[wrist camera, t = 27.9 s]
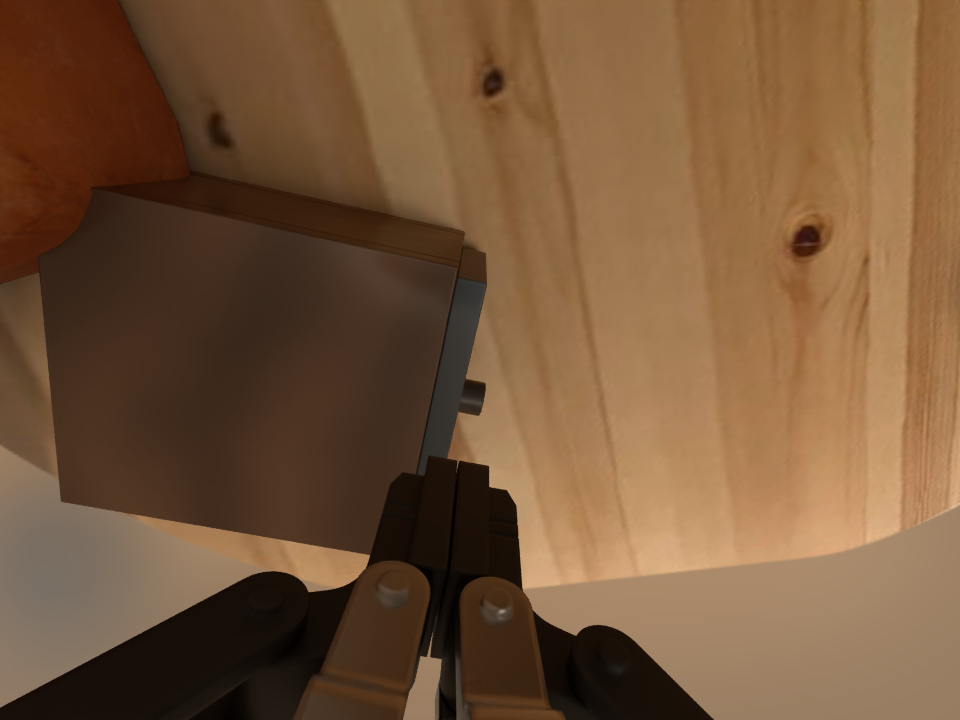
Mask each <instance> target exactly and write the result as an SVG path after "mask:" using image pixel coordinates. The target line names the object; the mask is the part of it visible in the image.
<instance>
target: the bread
mask: <svg viewBox="0 0 960 720" xmlns="http://www.w3.org/2000/svg"><path fill="white" fill-rule="evenodd" d="M188 176H190V173H189V168H188V164H187V160H186V155H185V151H184V147H183V142H182V138H181V134H180V130H179V125H178V123H177V121H176V119H175V117H174V115H173V113H172V111H171V109H170V107H169V105H168V103H167V101H166V99H165V97H164V95H163V93H162V91H161V90H160V88H159V86H158V84H157V82H156V80H155V78H154V76H153V74H152V72H151V70H150V68H149V66H148V64H147V62H146V60H145V58H144V56H143V54H142V52H141V49H140V47H139V45H138V43H137V41H136V39H135V37H134V35H133V33H132V31H131V28H130V26H129V24H128V22H127V20H126V18H125V16H124V14H123V12H122V9H121V7H120V5H119V3H118V1H117V0H0V284H2V283H5V282H8V281H12V280H15V279H18V278H21V277H25V276H28V275H31V274H34V273H37V272H39V263H38V256H39V255H41V254H43V253H45V252H46V251H48V250H50V249H52V248H54V247H56V246H58V245H59V244H61V243H63V242H64V241H65V240H66V239H67V238H68V237H69V236H70V235H71V234H72V233H73V232H75V231H76V230H77V229H78V226H79V224H80V222H81V220H82V218H83V216H84V214H85V212H86V210H87V208H88V206H89V204H90V200H91V195H92V191H91V187H100V186H114V185H125V184H135V183H145V182H156V181H166V180H176V179H183V178H185V177H188Z"/></svg>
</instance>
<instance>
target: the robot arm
mask: <svg viewBox="0 0 960 720" xmlns="http://www.w3.org/2000/svg"><path fill="white" fill-rule="evenodd" d="M456 471H457V473H456ZM432 633H433V637H432ZM431 637H432V646H431V655H430V657H432V658H438V659H442V663H441V674H440V680H439V684H438V688H437V692H436V698H435V720H714V719H713V718H711V716H709V715H708V714H707V713H706V712H705V711H704V710H703V709H702V708H701V707H700V706H699V705H698V704H697V703H696V702H695V701H694V700H693V699H692V698H691V697H690V696H689V695H688V694H687V693H686V692H685V691H684V690H683V689H682V688H681V687H680V686H679V685H678V684H677V683H676V682H675V681H674V680H673V679H672V678H671V677H670V676H669V675H668V674H667V673H666V672H665V671H664V670H663V669H662V668H661V667H660V666H659V665H658V664H657V663H656V662H655V661H654V660H653V659H652V658H651V657H650V656H649V655H648V654H647V653H646V652H645V651H644V650H643V649H642V648H641V647H640V646H639V645H638V644H637V643H636V642H635V641H634V640H632V639H631V638H630V637H629V636H627V635H626V634H624V633H623V632H621V631H619V630H617V629H614V628H612V627H608V626H602V625H593V626H588V627H586V628H584V629H582V630H581V631H580V632H579V633H578V634H577V636H575V635H572V634H570V633H568V632H566V631H563V630H562V629H559V628H557V627H555V626H553V625H551V624H549V623H548V622H546V621H544V620H543V619H542V618H541V617H539V616H538V615H537V614H536V613H535V612H534V611H533V610H532V606H531V603H530V601H529V599H528V597H527V596H526V595H525V593H524V592H523V589H522V577H521V563H520V549H519V538H518V525H517V508H516V504H515V503H514V501H513V500H512V498H511V496H510V495H509V493H508V491H507V490H502V489H496V488H491V487H489V466H486V465H481V464H475V463H469V462H464V461H459V464H458V468H457V460H452V459H446V458H441V457H435V456H429V455H428V459H427V465H426V470H425V475H424V476H422V475H416V474H410V473H405V472H402V473H401V474H400V475H399V476H398V477H397V478H396V479H395V480H394V481H393V482H392V483H391V484H390V487H389V490H388V494H387V497H386V502H385V504H384V508H383V512H382V515H381V519H380V522H379V526H378V530H377V533H376V537H375V540H374V544H373V547H372V551H371V555H370V558H369V562H368V564H367V567H366V569H365V570H364V571H363V572H362V573H361V574H360V575H359V577H358V578H357V579H356V580H354V581H353V582H351V583H349V584H347V585H345V586H343V587H340V588H336V589H332V590H325V591H316V592H308V590H307V588H306V586H305V585H304V584H303V582H302V581H300V580H299V579H298V578H296V577H295V576H293V575H290V574H287V573H283V572H275V571H271V572H262V573H257V574H254V575H251V576H249V577H247V578H245V579H243V580H241V581H239V582H237V583H235V584H233V585H231V586H229V587H228V588H226V589H224V590H222V591H220V592H218V593H216V594H214V595H212V596H211V597H209V598H207V599H205V600H203V601H201V602H199V603H197V604H196V605H193V606H192V607H190V608H188V609H186V610H184V611H182V612H180V613H178V614H176V615H175V616H173V617H171V618H169V619H167V620H165V621H163V622H161V623H159V624H158V625H156V626H154V627H152V628H150V629H148V630H146V631H144V632H142V633H141V634H139V635H137V636H135V637H133V638H131V639H129V640H128V641H125V642H124V643H122V644H120V645H118V646H116V647H114V648H112V649H110V650H109V651H107V652H105V653H103V654H101V655H99V656H97V657H95V658H93V659H91V660H90V661H88V662H86V663H84V664H82V665H80V666H78V667H76V668H74V669H73V670H71V671H69V672H67V673H65V674H63V675H61V676H59V677H57V678H56V679H54V680H52V681H50V682H48V683H46V684H44V685H42V686H40V687H39V688H37V689H35V690H33V691H31V692H29V693H27V694H25V695H23V696H22V697H20V698H18V699H16V700H14V701H12V702H10V703H8V704H6V705H4V706H3V707H1V708H0V720H403V717H404V712H405V708H406V703H407V699H408V694H409V691H410V689H411V688H412V686H413V684H414V682H415V678H416V674H417V669H418V665H419V660H420V656H424V657H427V654H428V650H429V646H430V641H431Z"/></svg>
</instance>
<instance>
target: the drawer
mask: <svg viewBox="0 0 960 720" xmlns="http://www.w3.org/2000/svg"><path fill="white" fill-rule="evenodd" d="M486 287H487V272H486V253H484V252H479V251H475V250H470V249H465V248H462V251H461V257H460V262H459V268H458V273H457V278H456V283H455V288H454V292H453V297H452V302H451V307H450V312H449V317H448V321H447V326H446V331H445V336H444V341H443V346H442V350H441V355H440V360H439V365H438V370H437V375H436V380H435V384H434V389H433V394H432V399H431V404H430V409H429V413H428V418H427V423H426V428H425V433H424V438H423V442H422V447H421V452H420V457H419V462H418V467H417V472H416V475H422V476H424V475H425V470H426V465H427V459H428V455H429V456H435V457H441V458H446V459H447V457H448V452H449V448H450V444H451V439H452V435H453V431H454V426H455V422H456V418H457V413H458V412H461V413H466V414H472V415H477V416H479V415H480V413H481V410H482V406H483V402H484V397H485V390H486V384H485V383H483V382H478V381H473V380H468V379H465V378H466V374H467V370H468V365H469V361H470V357H471V352H472V348H473V344H474V339H475V335H476V330H477V326H478V322H479V317H480V313H481V309H482V304H483V300H484V296H485V291H486Z"/></svg>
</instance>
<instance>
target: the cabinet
mask: <svg viewBox="0 0 960 720" xmlns="http://www.w3.org/2000/svg"><path fill="white" fill-rule="evenodd" d="M189 173H190V176H188V177H185V178H183V179H176V180H166V181H156V182H145V183H135V184H125V185H114V186H100V187H91V191H92V195H91V200H90V204H89V206H88V208H87V210H86V212H85V214H84V216H83V218H82V220H81V222H80V224H79V226H78V229H77V230H76V231H75V232H73V233H72V234H71V235H70V236H69V237H68V238H67V239H66V240H65V241H64V242H63V243H61V244H59V245H58V246H56V247H54V248H52V249H50V250H48V251H46V252H45V253H43V254H41V255H39V256H38V263H39V274H40V284H41V295H42V305H43V316H44V327H45V337H46V348H47V358H48V369H49V380H50V390H51V401H52V411H53V422H54V433H55V443H56V454H57V464H58V475H59V485H60V496H61V501H62V502H65V503H71V504H77V505H83V506H89V507H94V508H100V509H106V510H112V511H118V512H123V513H129V514H135V515H141V516H147V517H152V518H158V519H164V520H170V521H176V522H181V523H187V524H193V525H199V526H205V527H210V528H216V529H222V530H228V531H234V532H240V533H245V534H251V535H257V536H263V537H269V538H274V539H280V540H286V541H292V542H298V543H303V544H309V545H315V546H321V547H327V548H332V549H338V550H344V551H350V552H356V553H362V554H367V555H371V551H372V547H373V544H374V540H375V537H376V533H377V530H378V526H379V522H380V519H381V515H382V512H383V508H384V504H385V502H386V497H387V494H388V490H389V487H390V484H391V483H392V482H393V481H394V480H395V479H396V478H397V477H398V476H399V475H400V474H401V473H402V472H405V473H410V474H416V472H417V467H418V462H419V457H420V452H421V447H422V442H423V438H424V433H425V428H426V423H427V418H428V413H429V409H430V404H431V399H432V394H433V389H434V384H435V380H436V375H437V370H438V365H439V360H440V355H441V350H442V346H443V341H444V336H445V331H446V326H447V321H448V317H449V312H450V307H451V302H452V297H453V292H454V288H455V283H456V278H457V273H458V268H459V262H460V257H461V251H462V246H463V240H464V235H465V233H464V232H463V231H458V230H454V229H449V228H445V227H440V226H436V225H431V224H427V223H422V222H418V221H413V220H409V219H404V218H400V217H395V216H391V215H386V214H382V213H377V212H373V211H368V210H364V209H359V208H355V207H350V206H346V205H341V204H337V203H332V202H328V201H323V200H319V199H314V198H310V197H305V196H301V195H297V194H292V193H288V192H283V191H279V190H274V189H270V188H265V187H261V186H256V185H252V184H247V183H243V182H238V181H234V180H229V179H225V178H220V177H216V176H211V175H207V174H202V173H198V172H193V171H189Z"/></svg>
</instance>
